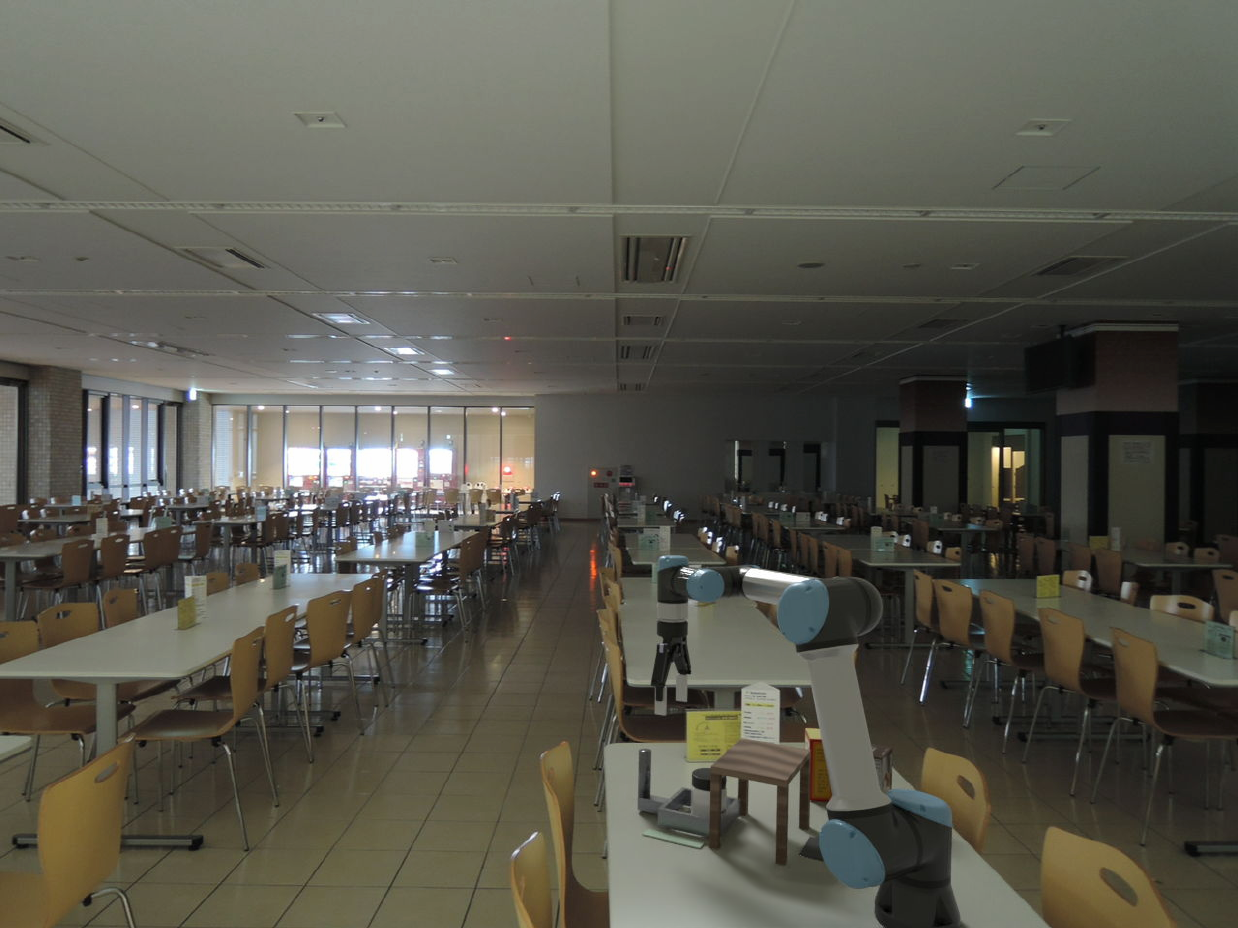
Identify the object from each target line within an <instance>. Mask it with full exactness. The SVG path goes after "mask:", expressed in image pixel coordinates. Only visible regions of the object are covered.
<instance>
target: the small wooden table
mask: <svg viewBox="0 0 1238 928" xmlns="http://www.w3.org/2000/svg"><path fill="white" fill-rule="evenodd" d="M710 768H711V772H710V820H709V838H708V848H709V849H711V850H719V849H720V848H721V847H722V846H721V844H722V843H721V841H722V837H721V800H722V775H724V776H726V777H730V778H735V779H737V782H738V783H737V798H738V799H740V816H741V817H746V816H747V815H749V790H750V789H749V788H750V787H749V785H750V783H749V781H751V782H756V783H761V784H766V785H773V786H776V814H775V815H776V818H775V819H776V823H775V824H776V825H775V826H776V827H775V862H774V863H775V864H776V865H781V866H786V865H787V863H788V844H789V843H788V841H789V839H788V837H789V833H788V832H789V797H790V796H789V794H790V793H789V791H790V789H789V788H790V784H791V782H792V781H793V780H794V779H795V777H796V776H797V774H798V773H799V802H798V803H799V805H798V806H799V808H798V809H799V812H798V813H799V815H798V829H802V830H807V831H808V830H809V828H810V823H811V822H810V820H811V817H810V816H811V815H810V814H811V813H810V812H811V801H810V774H811V750H808V749H805V748H801V747H796V746H790V745H783V744H778V743H772V742H766V741H759V740H754V739H748V738H744V737H742V738H740V739H739V740H738V741H737V742H736V743H735V744H733V745H732V746H731V747H730V748H729V749H728V750H726V751H725V752H724V753H723V754H722V755H721V756H720V757H719V758H718V759H717V760H716V761H715V762H713V763H712V764H711V765H710ZM740 816H739V817H740Z"/></svg>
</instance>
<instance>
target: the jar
mask: <svg viewBox="0 0 1238 928" xmlns="http://www.w3.org/2000/svg"><path fill="white" fill-rule="evenodd" d="M710 772H711V767H701V768H696V769H694V770H693V771H692V772H691V782H690V789H691V807H690V814H694V815H698V816H703V817H708V818H710ZM727 781H728V780H727V776H724V775H722V800H721V814H722V813H723V812H724V811H725V810H726V805H727V796H728V793H727V792H728V791H727V790H728V789H727Z"/></svg>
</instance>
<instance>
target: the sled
mask: <svg viewBox="0 0 1238 928" xmlns="http://www.w3.org/2000/svg"><path fill="white" fill-rule="evenodd" d="M651 771H652V750H651V749H649V748H640V749H638V776H637V777H638V778H637V779H638V780H637V781H638V783H637V784H638V787H637V810H638V811H642V812H646V813H651V814H655V815H657V826H658V827H661V828H665V829H670V830H674V831H678V832H682V833H687V834H692V835H696V836H701V837H703V838H704V837H705V838H708V839H709V820H710V818H708V817H703V816H698V815H694V814H691V813H688V812H684V811H681V809H682V808H683V807H684V806H685V807H690V808H691V788H688V787H684V786H681V788H680V789H678V790H677V791H676V792H675V793H674V794H673V795H672V796H670V797H669V798H668V797H667V798H666V797H662V796H659V795H653V794H651V785H652V784H651V782H652V779H651V777H652V774H651V773H652V772H651ZM739 818H740V799H738V797H734V796H733V797H732V796H728V795H727V805H726V810H725V811H724V812H723V813H722V814H721V838H722V837H723V836H724V835H725V834H726V833H727V831H729V830H730V828H731V827H732V826H733V824H734V823H735V822H736V821H737V820H738V819H739Z"/></svg>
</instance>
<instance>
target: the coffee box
mask: <svg viewBox="0 0 1238 928" xmlns="http://www.w3.org/2000/svg"><path fill="white" fill-rule="evenodd" d="M871 747H872V752H873V757H874V762H875V767H876V771H877V776H878V781H879V786H880V790H881V791H882V792H883V793H884V794H885V795H887V792H888V791H889V790H891V789H893V747H890V746H885V745H884V746H883V745H877V744H872V743H871Z"/></svg>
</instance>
